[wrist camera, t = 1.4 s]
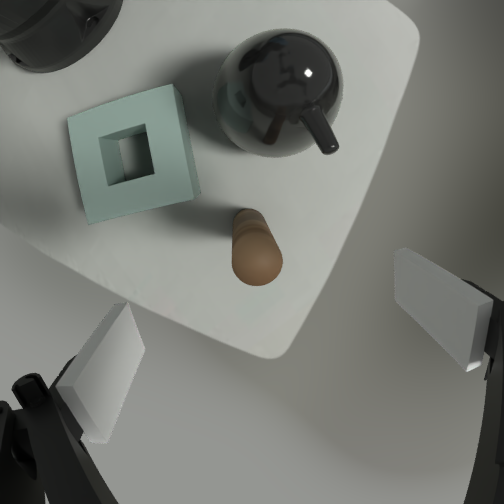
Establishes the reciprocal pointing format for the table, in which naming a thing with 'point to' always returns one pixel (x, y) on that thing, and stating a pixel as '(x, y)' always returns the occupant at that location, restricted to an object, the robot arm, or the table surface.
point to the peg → (254, 249)
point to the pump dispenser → (279, 94)
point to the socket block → (109, 159)
